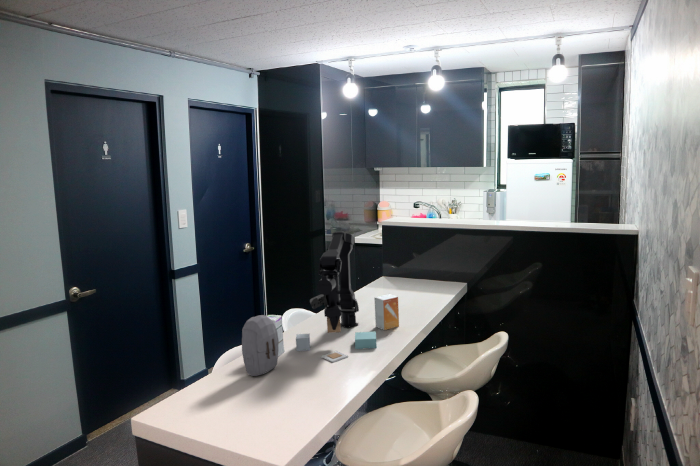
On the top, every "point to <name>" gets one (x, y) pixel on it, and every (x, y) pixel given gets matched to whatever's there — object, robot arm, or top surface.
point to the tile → (334, 356)
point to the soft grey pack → (259, 345)
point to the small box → (386, 311)
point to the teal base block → (365, 340)
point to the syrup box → (278, 331)
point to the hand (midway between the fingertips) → (334, 327)
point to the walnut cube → (329, 327)
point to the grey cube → (303, 342)
